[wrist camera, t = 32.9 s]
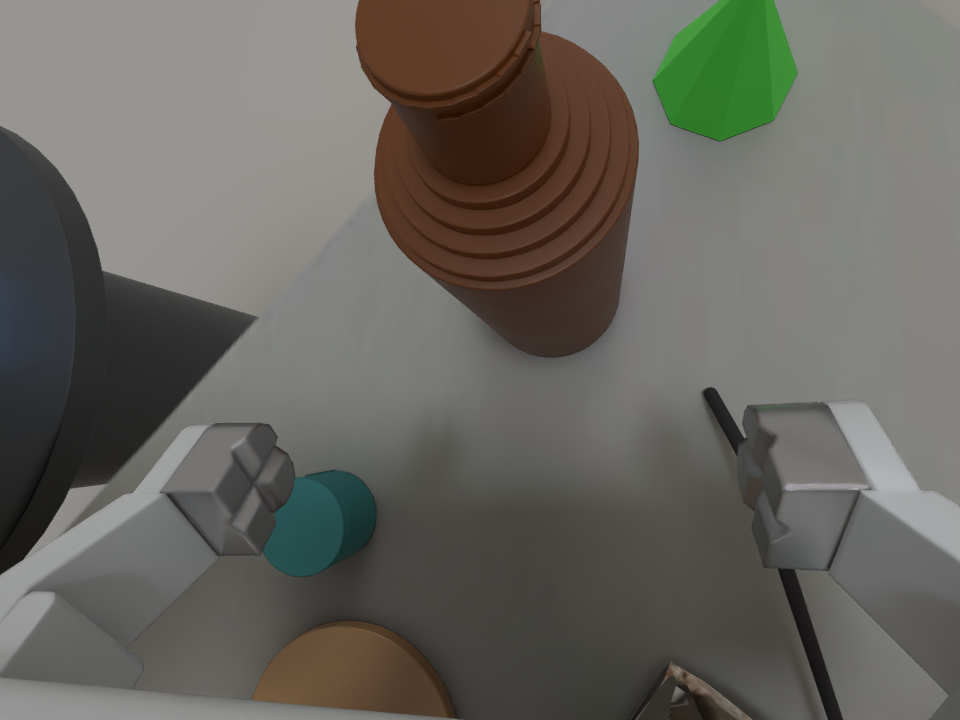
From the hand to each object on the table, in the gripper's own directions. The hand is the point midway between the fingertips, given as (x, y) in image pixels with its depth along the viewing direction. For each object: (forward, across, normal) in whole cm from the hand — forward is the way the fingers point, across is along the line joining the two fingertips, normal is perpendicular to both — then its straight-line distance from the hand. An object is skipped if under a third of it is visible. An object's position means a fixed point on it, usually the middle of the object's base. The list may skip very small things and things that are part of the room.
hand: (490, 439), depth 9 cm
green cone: (+22, -8, 0) cm, 23 cm away
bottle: (+15, 0, +6) cm, 16 cm away
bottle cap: (+8, +11, +13) cm, 19 cm away
